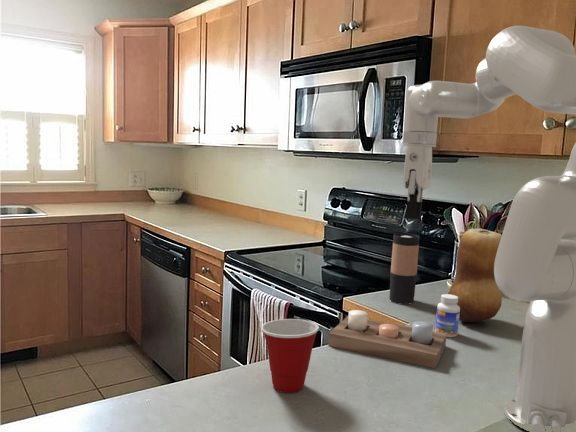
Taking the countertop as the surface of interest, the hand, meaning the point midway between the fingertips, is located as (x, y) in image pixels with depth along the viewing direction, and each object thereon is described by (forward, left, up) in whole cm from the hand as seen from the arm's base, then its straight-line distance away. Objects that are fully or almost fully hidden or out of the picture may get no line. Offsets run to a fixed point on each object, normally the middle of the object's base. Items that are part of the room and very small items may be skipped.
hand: (413, 218), depth 122 cm
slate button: (-8, -5, -27) cm, 28 cm away
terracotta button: (-8, +2, -29) cm, 30 cm away
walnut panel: (-9, +2, -29) cm, 30 cm away
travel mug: (+29, +7, -29) cm, 42 cm away
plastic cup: (-38, +14, -29) cm, 50 cm away
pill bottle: (+7, -9, -29) cm, 31 cm away
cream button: (-8, +9, -27) cm, 29 cm away
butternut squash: (+21, -14, -29) cm, 39 cm away
